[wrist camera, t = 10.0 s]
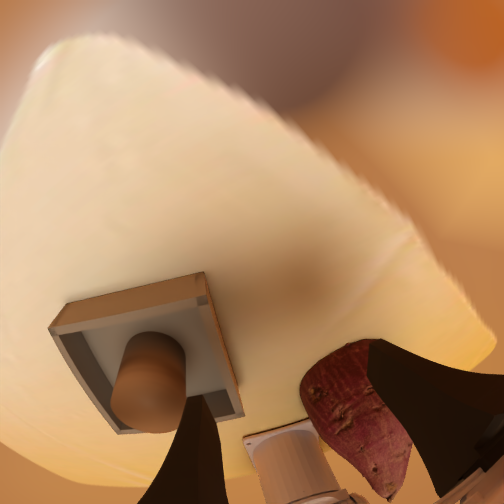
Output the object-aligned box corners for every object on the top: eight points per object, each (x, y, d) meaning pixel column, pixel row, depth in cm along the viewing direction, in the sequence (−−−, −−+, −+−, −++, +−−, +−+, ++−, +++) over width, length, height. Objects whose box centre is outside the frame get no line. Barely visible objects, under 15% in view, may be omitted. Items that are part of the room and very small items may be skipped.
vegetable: (325, 401, 29) (354, 512, 17) (274, 375, 24) (301, 528, 12) (403, 357, 26) (453, 470, 14) (373, 315, 21) (447, 478, 9)
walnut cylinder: (192, 375, 20) (195, 429, 15) (137, 382, 19) (129, 435, 14) (176, 326, 18) (173, 380, 13) (116, 335, 18) (97, 387, 12)
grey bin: (237, 386, 22) (245, 416, 18) (122, 405, 20) (117, 434, 17) (203, 271, 18) (206, 294, 15) (66, 303, 17) (47, 328, 14)
